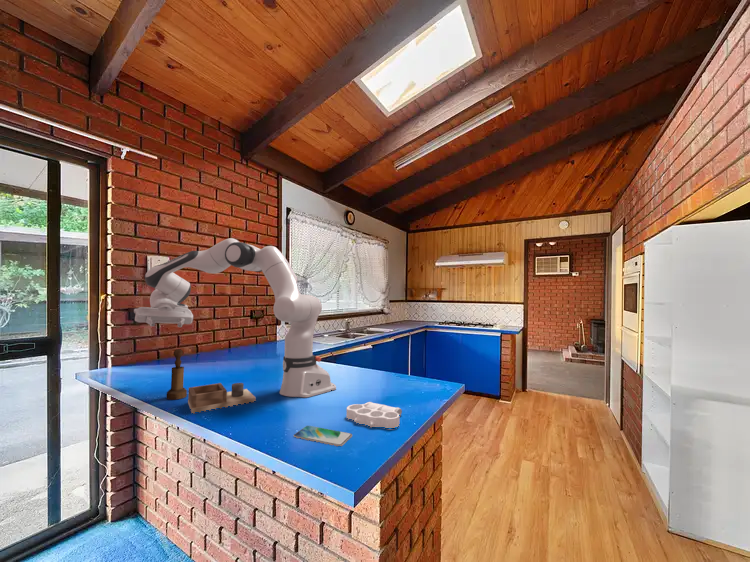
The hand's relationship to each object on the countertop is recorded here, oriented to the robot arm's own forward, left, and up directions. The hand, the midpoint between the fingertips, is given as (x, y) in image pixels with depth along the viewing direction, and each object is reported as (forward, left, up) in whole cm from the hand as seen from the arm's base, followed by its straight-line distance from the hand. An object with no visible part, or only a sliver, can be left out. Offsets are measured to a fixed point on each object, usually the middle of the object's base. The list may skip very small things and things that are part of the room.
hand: (166, 325), depth 125 cm
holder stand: (-16, +26, -27) cm, 41 cm away
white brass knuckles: (-52, +71, -27) cm, 92 cm away
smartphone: (-34, +72, -27) cm, 84 cm away
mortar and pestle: (-4, +10, -27) cm, 29 cm away
